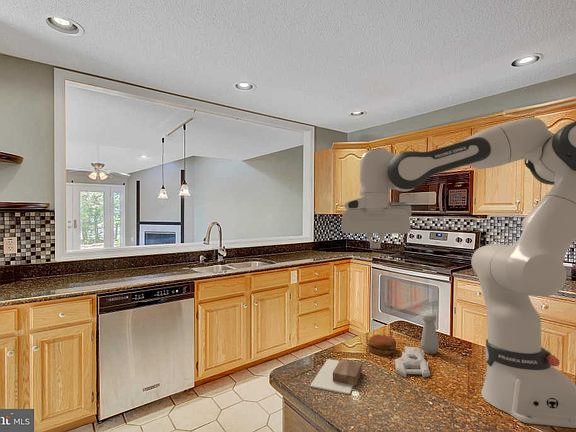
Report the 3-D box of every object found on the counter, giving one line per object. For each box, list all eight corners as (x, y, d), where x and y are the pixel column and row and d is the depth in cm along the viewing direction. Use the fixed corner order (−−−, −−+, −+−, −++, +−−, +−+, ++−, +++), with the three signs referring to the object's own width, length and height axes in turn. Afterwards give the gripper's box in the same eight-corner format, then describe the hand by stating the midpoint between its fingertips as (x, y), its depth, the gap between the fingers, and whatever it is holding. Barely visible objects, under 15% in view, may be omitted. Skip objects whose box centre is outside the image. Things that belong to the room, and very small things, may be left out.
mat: (361, 365, 102) (361, 364, 102) (349, 394, 85) (349, 393, 85) (327, 360, 106) (327, 358, 106) (309, 386, 89) (309, 385, 89)
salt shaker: (418, 348, 115) (417, 311, 115) (434, 348, 114) (434, 311, 114) (424, 355, 109) (424, 316, 109) (441, 355, 109) (441, 316, 109)
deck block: (361, 363, 97) (340, 359, 100) (355, 376, 89) (332, 372, 92) (361, 371, 97) (340, 367, 100) (355, 385, 89) (332, 381, 91)
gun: (392, 342, 112) (423, 344, 109) (392, 351, 112) (423, 354, 110) (396, 368, 94) (433, 372, 92) (396, 380, 94) (433, 384, 92)
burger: (372, 356, 109) (372, 342, 109) (364, 345, 118) (364, 332, 118) (401, 355, 109) (400, 341, 109) (390, 344, 118) (390, 331, 119)
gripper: (411, 202, 97) (412, 248, 97) (344, 204, 105) (344, 246, 105) (411, 201, 91) (411, 250, 91) (339, 203, 99) (340, 248, 99)
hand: (375, 248), depth 98 cm, fingers closed
